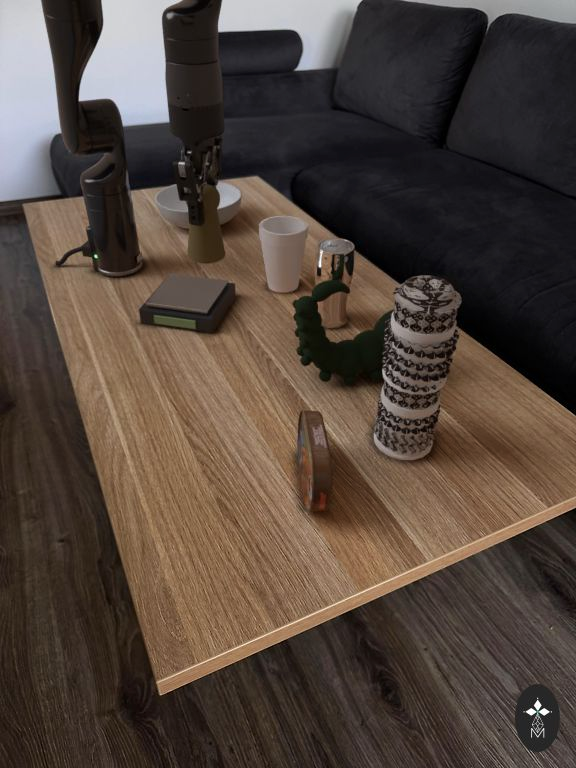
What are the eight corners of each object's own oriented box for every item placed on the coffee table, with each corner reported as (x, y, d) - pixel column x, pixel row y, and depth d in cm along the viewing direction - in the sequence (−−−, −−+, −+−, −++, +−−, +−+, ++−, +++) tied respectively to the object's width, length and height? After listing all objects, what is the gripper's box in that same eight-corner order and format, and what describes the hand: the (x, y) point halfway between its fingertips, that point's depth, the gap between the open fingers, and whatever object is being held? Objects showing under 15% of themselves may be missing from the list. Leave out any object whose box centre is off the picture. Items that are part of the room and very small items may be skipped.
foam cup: (270, 300, 117) (269, 238, 109) (253, 279, 124) (251, 220, 116) (313, 290, 120) (315, 230, 112) (294, 271, 127) (295, 212, 119)
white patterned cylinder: (399, 471, 80) (427, 312, 65) (358, 432, 86) (374, 278, 71) (448, 447, 84) (486, 291, 69) (405, 411, 90) (431, 261, 75)
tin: (295, 442, 85) (296, 397, 79) (317, 441, 85) (319, 396, 80) (307, 526, 73) (309, 479, 68) (332, 525, 73) (336, 477, 68)
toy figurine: (307, 406, 94) (456, 377, 96) (299, 303, 82) (469, 273, 84) (295, 371, 101) (434, 345, 104) (285, 272, 89) (443, 245, 92)
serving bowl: (172, 204, 157) (169, 178, 153) (249, 209, 155) (248, 182, 151) (146, 236, 141) (142, 207, 137) (232, 241, 139) (231, 213, 134)
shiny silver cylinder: (346, 331, 108) (353, 256, 99) (309, 327, 109) (312, 252, 100) (351, 312, 113) (357, 239, 104) (315, 308, 115) (318, 235, 105)
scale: (140, 324, 109) (137, 310, 108) (170, 288, 121) (168, 274, 119) (211, 334, 107) (210, 320, 105) (235, 296, 118) (235, 283, 116)
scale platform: (145, 306, 108) (145, 302, 108) (171, 276, 118) (170, 273, 117) (207, 314, 106) (207, 311, 106) (228, 284, 115) (228, 280, 115)
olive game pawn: (232, 251, 96) (229, 183, 89) (213, 266, 91) (209, 197, 84) (200, 243, 97) (195, 176, 90) (179, 258, 93) (173, 189, 86)
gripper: (188, 82, 86) (196, 196, 96) (147, 107, 75) (162, 233, 86) (237, 86, 84) (241, 202, 95) (203, 113, 74) (211, 239, 84)
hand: (203, 216), depth 90 cm, fingers closed on olive game pawn, 5 cm apart
